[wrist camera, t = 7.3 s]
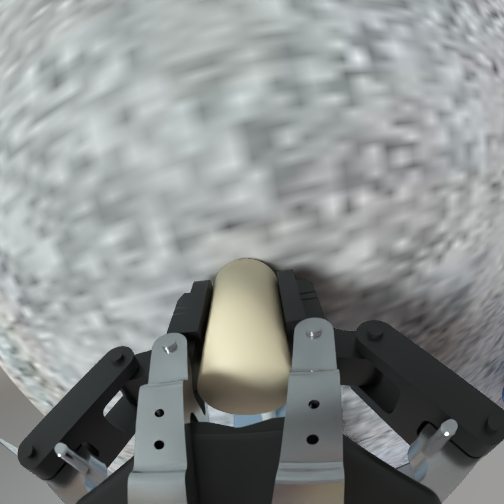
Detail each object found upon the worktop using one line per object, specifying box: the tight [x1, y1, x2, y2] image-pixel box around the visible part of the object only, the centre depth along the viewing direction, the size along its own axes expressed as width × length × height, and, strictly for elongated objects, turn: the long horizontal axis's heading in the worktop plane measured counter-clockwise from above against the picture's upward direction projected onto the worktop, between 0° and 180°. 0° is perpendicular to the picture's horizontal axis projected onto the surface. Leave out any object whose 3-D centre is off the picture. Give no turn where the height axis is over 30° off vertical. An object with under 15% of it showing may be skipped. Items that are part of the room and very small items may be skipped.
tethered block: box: [197, 259, 292, 428], centre depth 13 cm, size 5×17×6 cm, turn 8°
